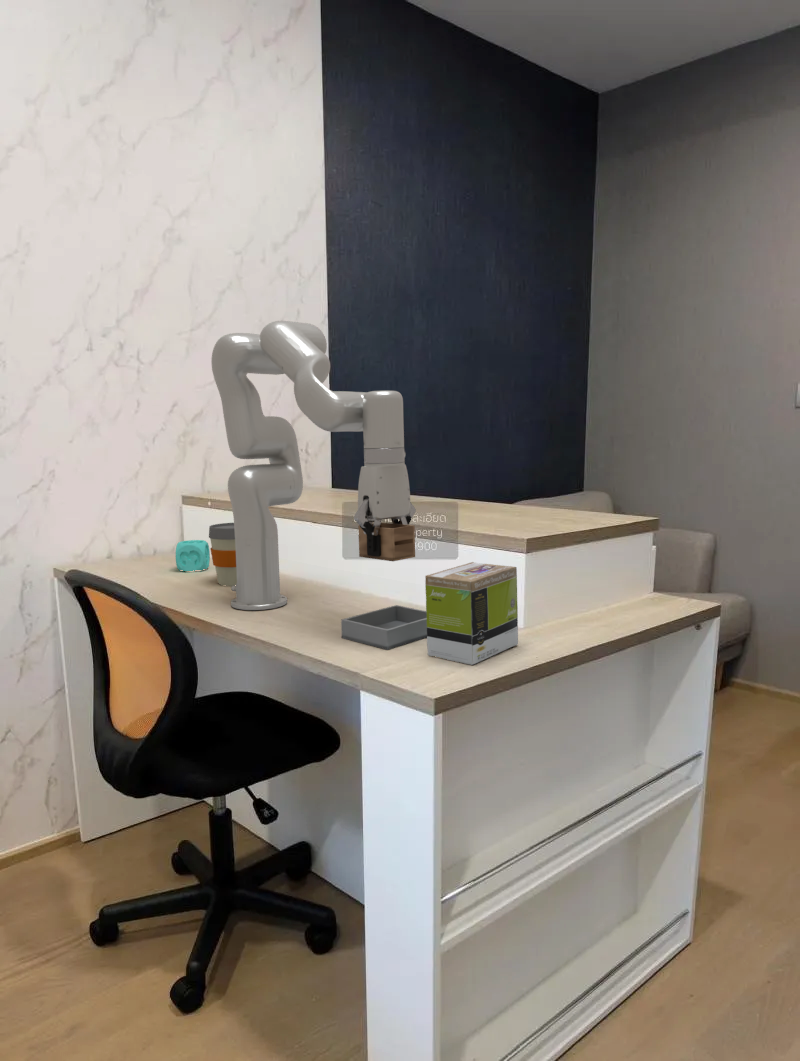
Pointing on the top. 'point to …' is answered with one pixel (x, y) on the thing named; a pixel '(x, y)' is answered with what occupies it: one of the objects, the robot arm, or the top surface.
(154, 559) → the top surface
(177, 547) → the decorative dice
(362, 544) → the small crate
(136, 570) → the top surface
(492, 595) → the tea box
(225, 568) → the reusable coffee cup
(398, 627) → the grey tray
